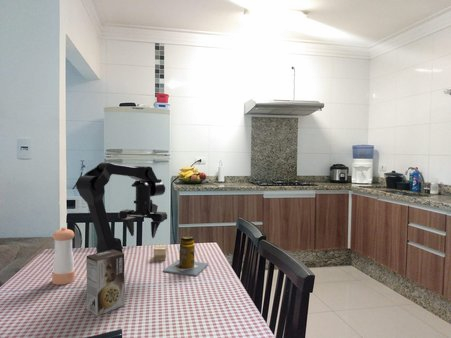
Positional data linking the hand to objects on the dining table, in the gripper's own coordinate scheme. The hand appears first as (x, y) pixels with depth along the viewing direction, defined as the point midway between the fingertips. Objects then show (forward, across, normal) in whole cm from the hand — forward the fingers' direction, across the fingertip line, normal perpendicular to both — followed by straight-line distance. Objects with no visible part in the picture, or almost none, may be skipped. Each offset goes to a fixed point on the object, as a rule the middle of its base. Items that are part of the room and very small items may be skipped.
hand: (142, 236), depth 133 cm
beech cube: (+13, 0, -15) cm, 20 cm away
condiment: (+13, -15, -7) cm, 21 cm away
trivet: (+13, -16, -7) cm, 22 cm away
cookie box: (+13, -7, +33) cm, 36 cm away
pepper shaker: (+13, +20, +20) cm, 31 cm away
